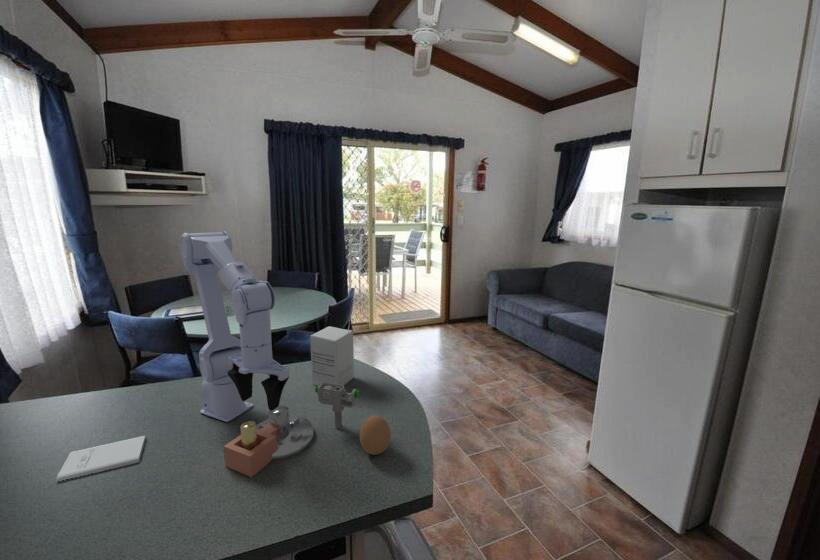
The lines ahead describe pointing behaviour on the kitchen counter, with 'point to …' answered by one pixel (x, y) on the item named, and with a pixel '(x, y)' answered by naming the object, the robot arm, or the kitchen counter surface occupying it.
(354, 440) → the kitchen counter surface
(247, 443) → the gold capsule
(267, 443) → the bracket
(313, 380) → the supplement box
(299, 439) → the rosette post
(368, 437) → the egg
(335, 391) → the mechanical component
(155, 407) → the kitchen counter surface
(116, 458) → the external hard drive
